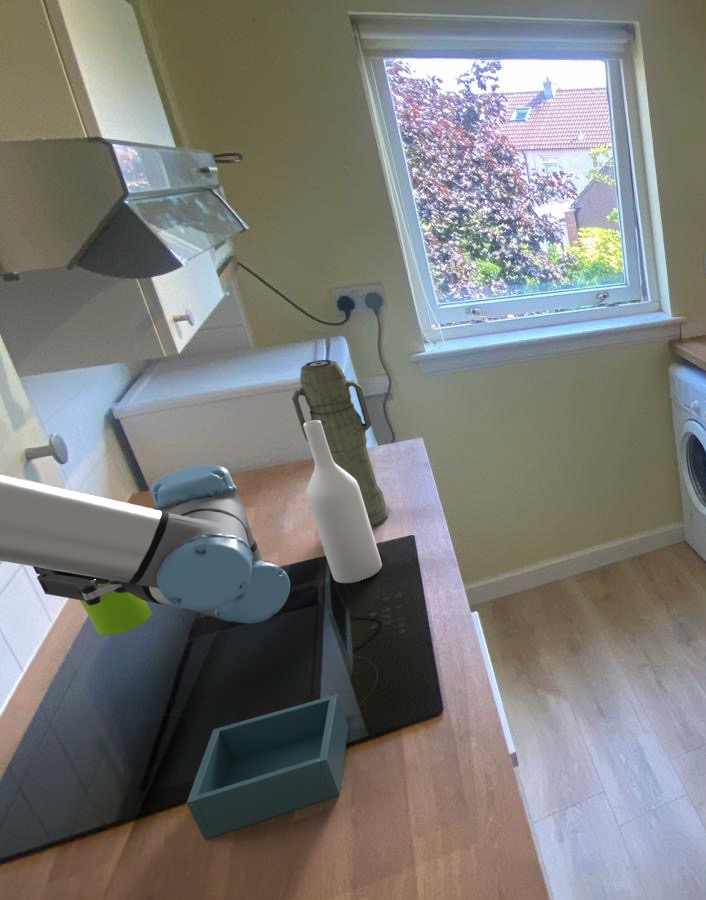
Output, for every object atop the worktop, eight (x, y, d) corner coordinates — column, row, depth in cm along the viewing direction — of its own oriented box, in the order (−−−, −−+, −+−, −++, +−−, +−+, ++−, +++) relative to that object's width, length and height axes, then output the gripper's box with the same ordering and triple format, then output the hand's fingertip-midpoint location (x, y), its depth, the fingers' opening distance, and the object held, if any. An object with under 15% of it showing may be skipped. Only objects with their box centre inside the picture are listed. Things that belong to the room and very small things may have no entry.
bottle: (383, 575, 136) (339, 424, 124) (333, 588, 132) (283, 434, 121) (380, 556, 142) (338, 411, 131) (333, 569, 139) (284, 420, 127)
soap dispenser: (95, 620, 104) (27, 496, 96) (155, 604, 107) (94, 483, 99) (82, 643, 100) (9, 515, 91) (145, 626, 102) (80, 500, 94)
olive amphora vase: (402, 517, 157) (358, 360, 144) (341, 538, 150) (289, 373, 136) (389, 505, 163) (345, 352, 150) (329, 524, 156) (278, 365, 142)
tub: (204, 840, 84) (186, 803, 82) (228, 763, 94) (213, 729, 92) (339, 795, 89) (326, 759, 87) (348, 727, 100) (336, 694, 97)
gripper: (106, 645, 87) (-11, 613, 94) (260, 563, 103) (150, 541, 110) (80, 591, 84) (-39, 562, 91) (242, 516, 100) (131, 497, 108)
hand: (65, 551), depth 101 cm, fingers closed on soap dispenser, 6 cm apart
